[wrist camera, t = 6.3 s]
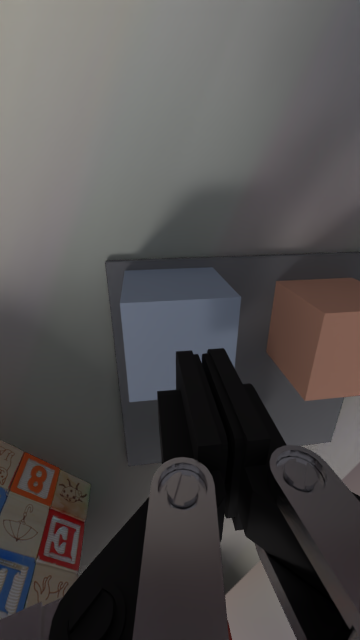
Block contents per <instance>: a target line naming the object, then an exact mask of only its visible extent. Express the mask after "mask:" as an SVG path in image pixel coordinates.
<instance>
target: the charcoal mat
mask: <svg viewBox="0 0 360 640" xmlns="http://www.w3.org/2000/svg"><path fill="white" fill-rule="evenodd" d="M105 265H106V273H107V282H108V291H109V300H110V309H111V318H112V326H113V335H114V344H115V353H116V362H117V371H118V379H119V388H120V397H121V406H122V415H123V423H124V432H125V441H126V450H127V459H128V466H135V465H143V464H152V463H160V462H162V460H161V448H160V435H159V421H158V402H157V400H148V401H138V402H129V392H128V381H127V371H126V361H125V351H124V340H123V330H122V320H121V310H120V299H121V292H122V285H123V279H124V272H125V271H127V270H154V269H180V268H207V267H213V268H214V269H215V270H216V271H217V272H218V273H219V274H220V275H221V276H222V278H223V279H224V280H225V281H226V282H227V283H228V284H229V285H230V286H231V287H232V288H233V289H234V290H235V291H236V292H237V293H238V294H239V295H240V296H241V304H240V315H239V326H238V337H237V347H236V358H235V370H236V372H237V374H238V376H239V378H240V380H241V382H242V384H248V383H250V384H252V385H253V387H254V388H255V390H256V392H257V393H258V395H259V397H260V399H261V400H262V402H263V404H264V406H265V407H266V409H267V411H268V413H269V415H270V416H271V418H272V420H273V422H274V423H275V425H276V427H277V429H278V431H279V432H280V434H281V436H282V438H283V439H284V441H285V443H286V445H296V446H301V445H310V444H318V443H326V442H331V439H332V436H333V433H334V429H335V426H336V423H337V419H338V416H339V413H340V409H341V406H342V403H343V399H344V397H340V398H330V399H320V400H310V401H304V399H303V398H302V397H301V396H300V394H299V393H298V392H297V391H296V389H295V388H294V387H293V385H292V384H291V383H290V382H289V380H288V379H287V378H286V377H285V375H284V374H283V373H282V371H281V370H280V369H279V368H278V366H277V365H276V364H275V363H274V361H273V360H272V359H271V357H270V356H269V355H268V354H267V352H266V349H267V342H268V335H269V328H270V321H271V314H272V307H273V300H274V293H275V286H276V281H288V280H311V279H333V278H354V279H356V280H358V281H360V252H349V253H319V254H289V255H259V256H229V257H199V258H169V259H139V260H109V261H106V262H105Z"/></svg>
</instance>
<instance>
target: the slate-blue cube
mask: <svg viewBox="0 0 360 640" xmlns="http://www.w3.org/2000/svg"><path fill="white" fill-rule="evenodd" d="M240 304H241V296H240V295H239V294H238V293H237V292H236V291H235V290H234V289H233V288H232V287H231V286H230V285H229V284H228V283H227V282H226V281H225V280H224V279H223V278H222V276H221V275H220V274H219V273H218V272H217V271H216V270H215V269H214V268H213V267H207V268H180V269H154V270H127V271H125V272H124V279H123V285H122V292H121V299H120V310H121V320H122V330H123V340H124V351H125V361H126V371H127V381H128V392H129V402H138V401H148V400H157V391H166V390H176V351H189V350H192V352H193V354H198V355H199V357H200V360H201V363H202V354H205V353H207V350H208V349H218V348H224V349H225V351H226V353H227V355H228V356H229V358H230V360H231V362H232V364H233V366H234V368H235V358H236V347H237V337H238V326H239V315H240Z"/></svg>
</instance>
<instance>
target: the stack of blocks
mask: <svg viewBox="0 0 360 640" xmlns="http://www.w3.org/2000/svg"><path fill="white" fill-rule="evenodd" d="M90 487H91V484H89V483H87V482H85V481H83V480H81V479H79V478H77V477H75V476H73V475H71V474H68V473H66V472H64V471H62V470H60V469H59V468H58V467H56V466H54V465H52V464H49V463H47V462H45V461H43V460H41V459H39V458H37V457H35V456H33V455H31V454H28V453H26V452H24V451H22V450H20V449H18V448H16V447H14V446H12V445H10V444H8V443H6V442H4V441H1V440H0V620H1V619H3V618H5V617H7V616H10V615H12V614H14V613H16V612H19V611H21V610H23V609H25V608H28V607H30V606H32V605H35V604H37V603H39V602H42V604H43V606H44V605H46V604H48V603H51V602H53V601H55V600H57V599H59V598H62V597H63V596H64V595H65V594H66V592H67V591H68V589H69V588H70V587H71V586H72V585H73V583H74V582H75V581H76V580H77V579H78V574H77V573H78V571H79V564H80V557H81V550H82V542H83V534H84V522H85V521H86V517H87V510H88V503H89V496H90Z"/></svg>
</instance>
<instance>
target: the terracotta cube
mask: <svg viewBox="0 0 360 640" xmlns="http://www.w3.org/2000/svg"><path fill="white" fill-rule="evenodd" d="M266 352H267V354H268V355H269V356H270V357H271V359H272V360H273V361H274V363H275V364H276V365H277V366H278V368H279V369H280V370H281V371H282V373H283V374H284V375H285V377H286V378H287V379H288V380H289V382H290V383H291V384H292V385H293V387H294V388H295V389H296V391H297V392H298V393H299V394H300V396H301V397H302V398H303V399H304V401H310V400H320V399H330V398H340V397H350V396H360V281H358V280H356V279H354V278H333V279H311V280H288V281H276V286H275V293H274V300H273V307H272V314H271V321H270V328H269V335H268V342H267V349H266Z"/></svg>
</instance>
